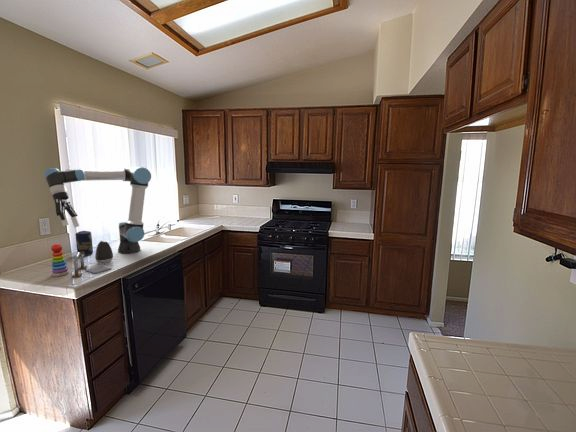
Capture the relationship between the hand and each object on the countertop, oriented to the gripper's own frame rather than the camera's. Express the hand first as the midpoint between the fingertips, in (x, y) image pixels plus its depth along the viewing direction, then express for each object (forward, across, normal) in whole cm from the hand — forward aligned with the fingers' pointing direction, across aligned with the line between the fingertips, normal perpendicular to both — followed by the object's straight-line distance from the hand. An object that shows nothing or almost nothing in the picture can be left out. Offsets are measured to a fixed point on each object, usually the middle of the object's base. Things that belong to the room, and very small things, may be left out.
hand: (71, 226), depth 178 cm
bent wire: (+28, -1, -5) cm, 29 cm away
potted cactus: (+27, -19, +4) cm, 33 cm away
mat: (+31, -3, +4) cm, 31 cm away
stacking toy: (+26, 0, -14) cm, 29 cm away
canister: (+15, -41, -14) cm, 45 cm away
